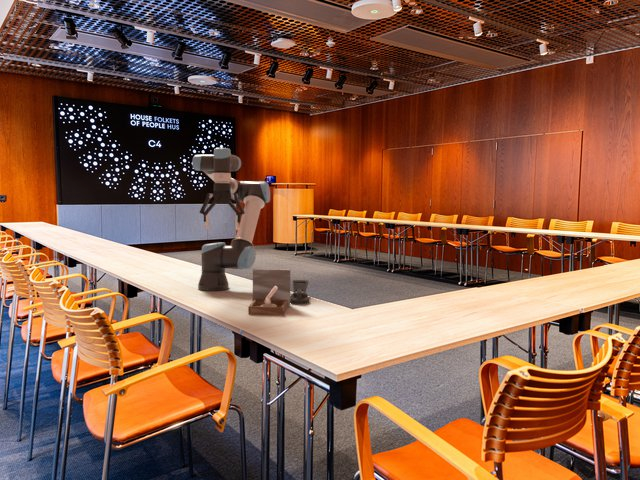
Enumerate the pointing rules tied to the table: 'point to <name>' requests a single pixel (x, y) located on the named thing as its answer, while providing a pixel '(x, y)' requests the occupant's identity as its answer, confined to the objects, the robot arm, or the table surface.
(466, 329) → the table surface
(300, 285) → the zipper pull
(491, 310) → the table surface
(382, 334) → the table surface
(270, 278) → the open wooden box
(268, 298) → the pink door lever handle
